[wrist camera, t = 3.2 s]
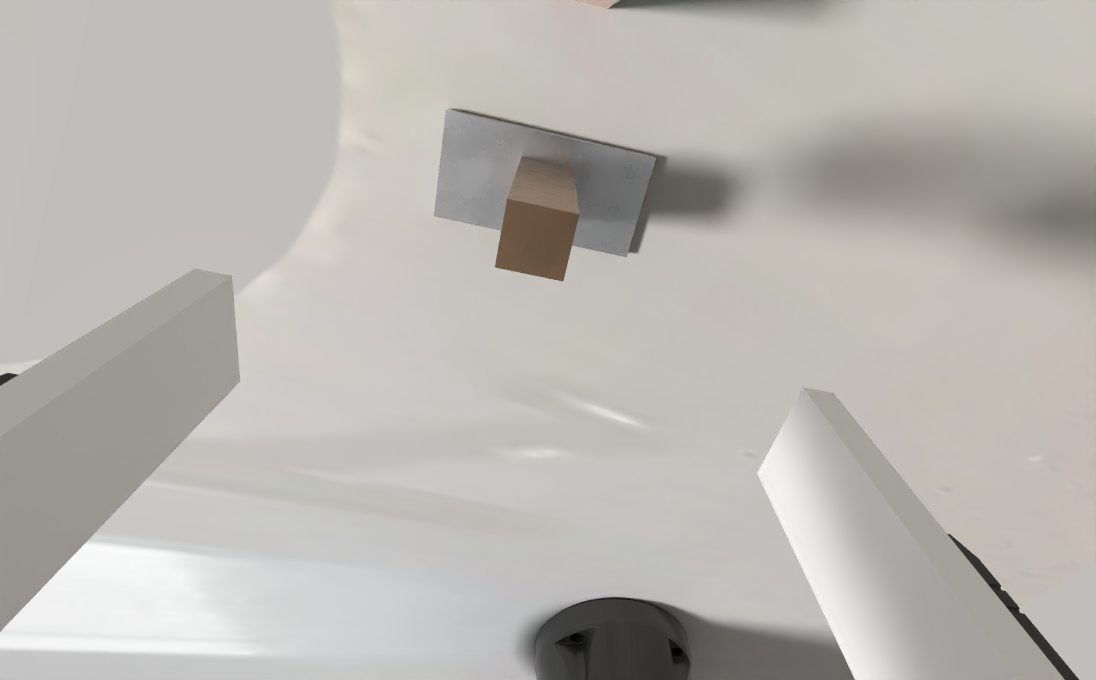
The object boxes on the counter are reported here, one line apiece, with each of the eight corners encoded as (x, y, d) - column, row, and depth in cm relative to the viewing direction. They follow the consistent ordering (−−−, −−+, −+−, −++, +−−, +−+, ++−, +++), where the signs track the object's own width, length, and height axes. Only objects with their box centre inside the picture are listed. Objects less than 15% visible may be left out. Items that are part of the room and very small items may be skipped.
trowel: (653, 155, 31) (697, 201, 21) (624, 251, 34) (652, 331, 24) (449, 108, 30) (398, 134, 20) (437, 211, 33) (387, 278, 23)
